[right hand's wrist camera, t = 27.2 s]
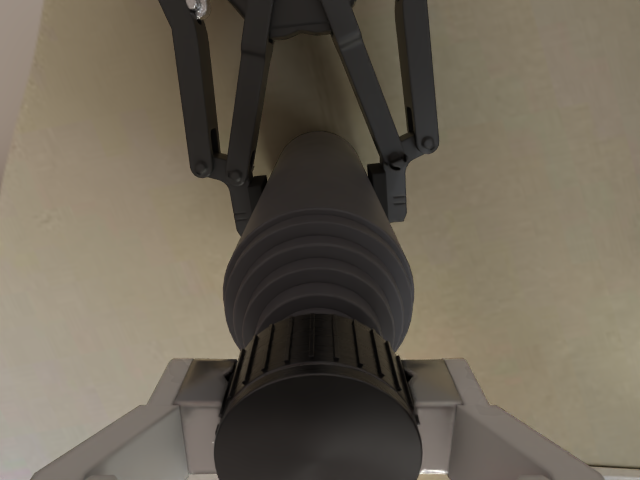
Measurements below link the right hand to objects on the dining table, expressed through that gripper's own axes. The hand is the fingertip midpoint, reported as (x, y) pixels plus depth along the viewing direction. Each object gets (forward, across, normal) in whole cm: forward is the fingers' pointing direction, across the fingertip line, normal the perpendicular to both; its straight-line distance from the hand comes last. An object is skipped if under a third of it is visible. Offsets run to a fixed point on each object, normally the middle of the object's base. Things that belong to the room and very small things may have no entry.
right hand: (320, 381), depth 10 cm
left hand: (+17, 0, -5) cm, 17 cm away
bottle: (+23, 0, 0) cm, 23 cm away
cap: (-2, 0, 0) cm, 2 cm away
